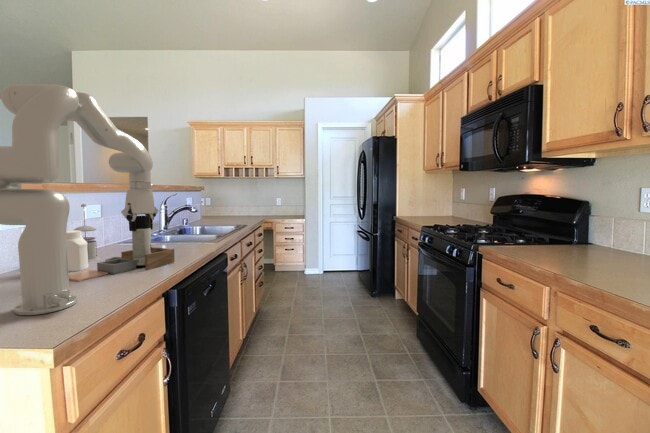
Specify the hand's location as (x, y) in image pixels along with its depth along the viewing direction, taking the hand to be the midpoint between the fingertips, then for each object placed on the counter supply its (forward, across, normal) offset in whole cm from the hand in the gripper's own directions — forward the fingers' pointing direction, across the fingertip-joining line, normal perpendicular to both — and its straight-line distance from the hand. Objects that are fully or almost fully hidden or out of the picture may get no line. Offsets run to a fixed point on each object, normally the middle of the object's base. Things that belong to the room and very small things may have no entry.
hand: (141, 229), depth 126 cm
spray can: (+15, 0, 0) cm, 15 cm away
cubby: (+15, -3, 0) cm, 16 cm away
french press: (+15, +1, -33) cm, 37 cm away
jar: (+16, +14, -21) cm, 30 cm away
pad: (+16, +18, -6) cm, 25 cm away
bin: (+15, +8, -3) cm, 18 cm away
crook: (+15, -4, -15) cm, 21 cm away
